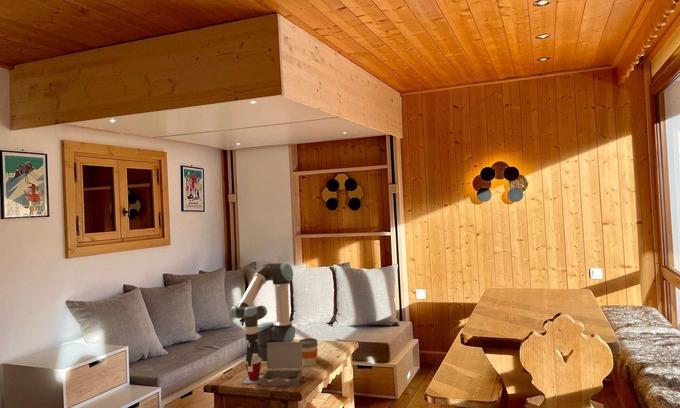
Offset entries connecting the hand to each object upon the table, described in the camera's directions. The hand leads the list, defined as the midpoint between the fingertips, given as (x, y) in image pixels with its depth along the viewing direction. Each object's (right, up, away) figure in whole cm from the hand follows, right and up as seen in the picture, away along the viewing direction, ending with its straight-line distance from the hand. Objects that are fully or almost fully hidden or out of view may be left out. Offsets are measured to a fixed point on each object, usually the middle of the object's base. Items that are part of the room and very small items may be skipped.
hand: (253, 367), depth 324 cm
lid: (+18, +5, +6) cm, 19 cm away
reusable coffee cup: (+32, -6, +27) cm, 42 cm away
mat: (0, -8, 0) cm, 8 cm away
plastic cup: (0, -7, 0) cm, 7 cm away
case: (+18, -7, -3) cm, 19 cm away
